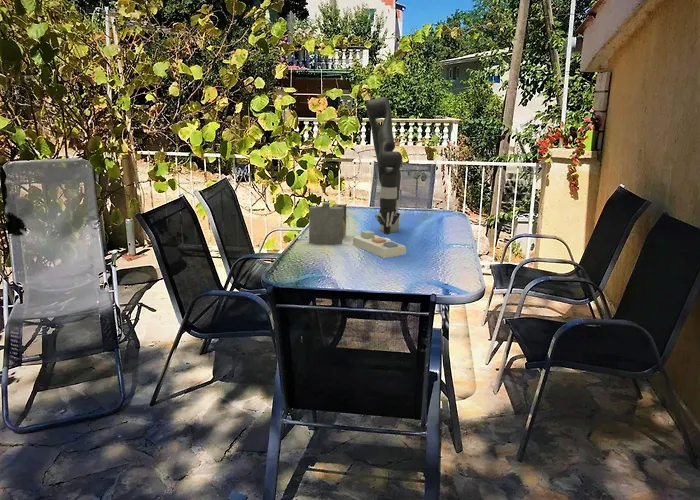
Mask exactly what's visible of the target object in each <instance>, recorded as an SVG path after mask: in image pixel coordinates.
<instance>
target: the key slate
mask: <svg viewBox="0 0 700 500" xmlns="http://www.w3.org/2000/svg"><path fill="white" fill-rule="evenodd" d="M393 242H394V241H393ZM393 242H387V243H383V246H386V247H388V248H392V247H398V244H396V243H397V242H396V243H393Z"/></svg>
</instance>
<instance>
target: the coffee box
mask: <svg viewBox="0 0 700 500" xmlns="http://www.w3.org/2000/svg"><path fill="white" fill-rule="evenodd" d="M331 207H342V208H343V223H342V240H343V239H344V238H345V237H346V236H347V235H346V234H347V204H336V203H335V204H333V205H332V206H331Z"/></svg>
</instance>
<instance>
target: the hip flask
mask: <svg viewBox="0 0 700 500" xmlns="http://www.w3.org/2000/svg"><path fill="white" fill-rule="evenodd" d="M321 205H322V206H320V205H319V206H318V205H317V206H310V207H309V209H308V210H309V211H308V212H309V214H308V219H309V220H308V221H309V222H308V224H309V225H308V228H309V229H308V230H309V231H308V243H309V244H310V243H313V244H314V245H342V244H343V239H342V223H343V208H342V207H332V206H331V207H330V205H331V203H330V201H329V202H327V201H326V202H322V204H321ZM313 244H312V245H313Z"/></svg>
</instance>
